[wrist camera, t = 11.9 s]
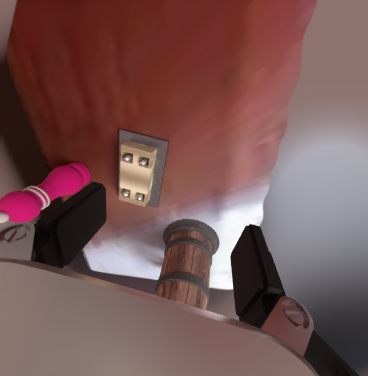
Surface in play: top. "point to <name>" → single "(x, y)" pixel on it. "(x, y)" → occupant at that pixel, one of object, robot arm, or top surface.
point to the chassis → (159, 162)
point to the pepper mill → (43, 193)
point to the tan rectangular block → (136, 172)
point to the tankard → (187, 262)
